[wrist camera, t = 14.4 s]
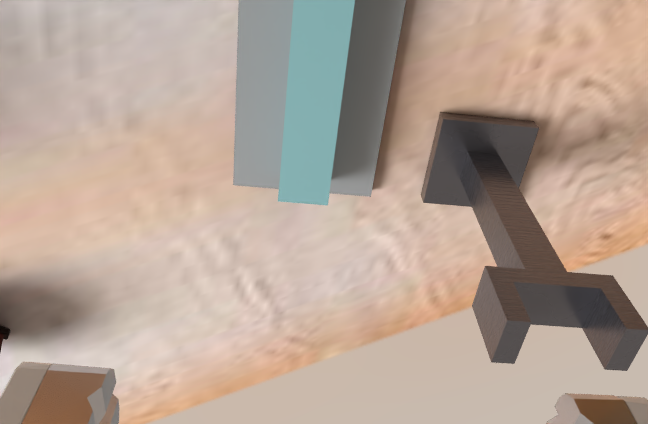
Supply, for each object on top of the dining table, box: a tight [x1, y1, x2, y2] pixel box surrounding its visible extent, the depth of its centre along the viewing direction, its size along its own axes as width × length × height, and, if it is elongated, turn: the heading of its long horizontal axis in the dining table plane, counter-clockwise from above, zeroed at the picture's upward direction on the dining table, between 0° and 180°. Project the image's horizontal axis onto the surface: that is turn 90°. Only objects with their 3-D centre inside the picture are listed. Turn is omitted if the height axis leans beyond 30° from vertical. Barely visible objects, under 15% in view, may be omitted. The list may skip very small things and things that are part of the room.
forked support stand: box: [421, 112, 648, 371], centre depth 27 cm, size 22×6×16 cm, turn 174°
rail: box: [278, 0, 355, 205], centre depth 31 cm, size 20×3×3 cm, turn 174°
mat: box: [233, 0, 406, 197], centre depth 33 cm, size 22×9×1 cm, turn 174°
